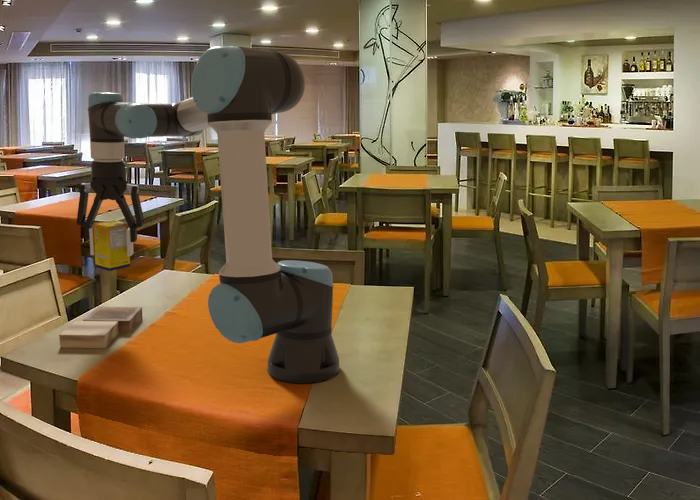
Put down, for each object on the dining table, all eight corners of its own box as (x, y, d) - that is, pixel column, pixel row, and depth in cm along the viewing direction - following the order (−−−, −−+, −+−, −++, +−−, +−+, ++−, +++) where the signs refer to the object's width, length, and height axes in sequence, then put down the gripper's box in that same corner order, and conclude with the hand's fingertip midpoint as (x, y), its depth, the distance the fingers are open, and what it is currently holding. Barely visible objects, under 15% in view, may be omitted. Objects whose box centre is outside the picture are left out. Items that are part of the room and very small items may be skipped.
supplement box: (115, 263, 167) (113, 219, 164) (130, 267, 164) (129, 222, 161) (94, 267, 162) (92, 222, 160) (110, 271, 159) (107, 226, 156)
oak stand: (105, 348, 151) (104, 335, 151) (60, 347, 151) (59, 334, 150) (118, 333, 161) (118, 321, 160) (76, 332, 161) (75, 320, 160)
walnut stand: (129, 332, 161) (129, 320, 161) (83, 332, 161) (82, 320, 160) (142, 318, 172) (141, 307, 172) (99, 317, 172) (98, 306, 171)
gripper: (157, 160, 161) (159, 252, 166) (69, 157, 161) (74, 249, 166) (148, 163, 154) (151, 259, 159) (56, 160, 153) (62, 256, 158)
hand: (112, 254), depth 162 cm, fingers closed on supplement box, 8 cm apart
